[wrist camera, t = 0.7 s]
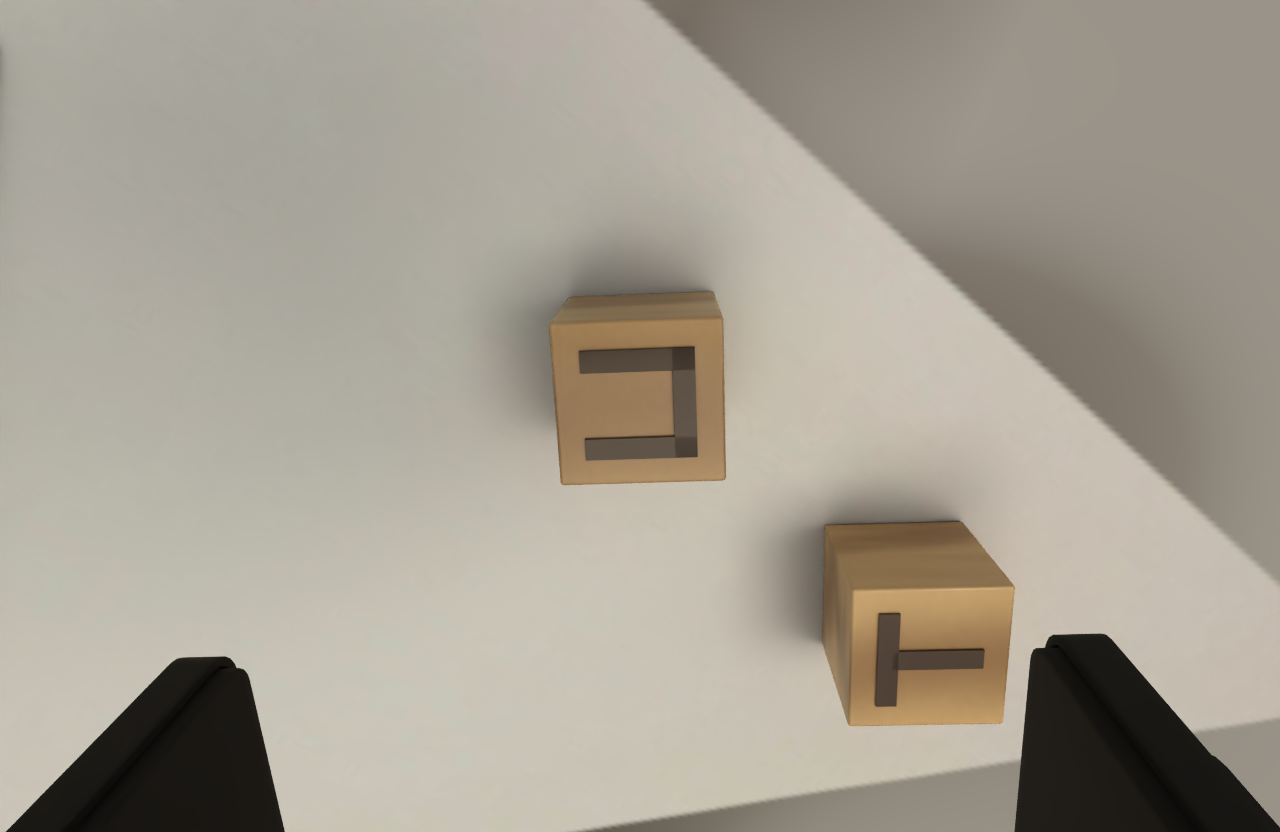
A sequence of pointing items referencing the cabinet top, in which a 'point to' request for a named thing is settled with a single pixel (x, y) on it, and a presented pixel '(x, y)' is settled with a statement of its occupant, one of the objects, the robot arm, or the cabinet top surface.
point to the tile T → (915, 624)
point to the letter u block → (639, 388)
